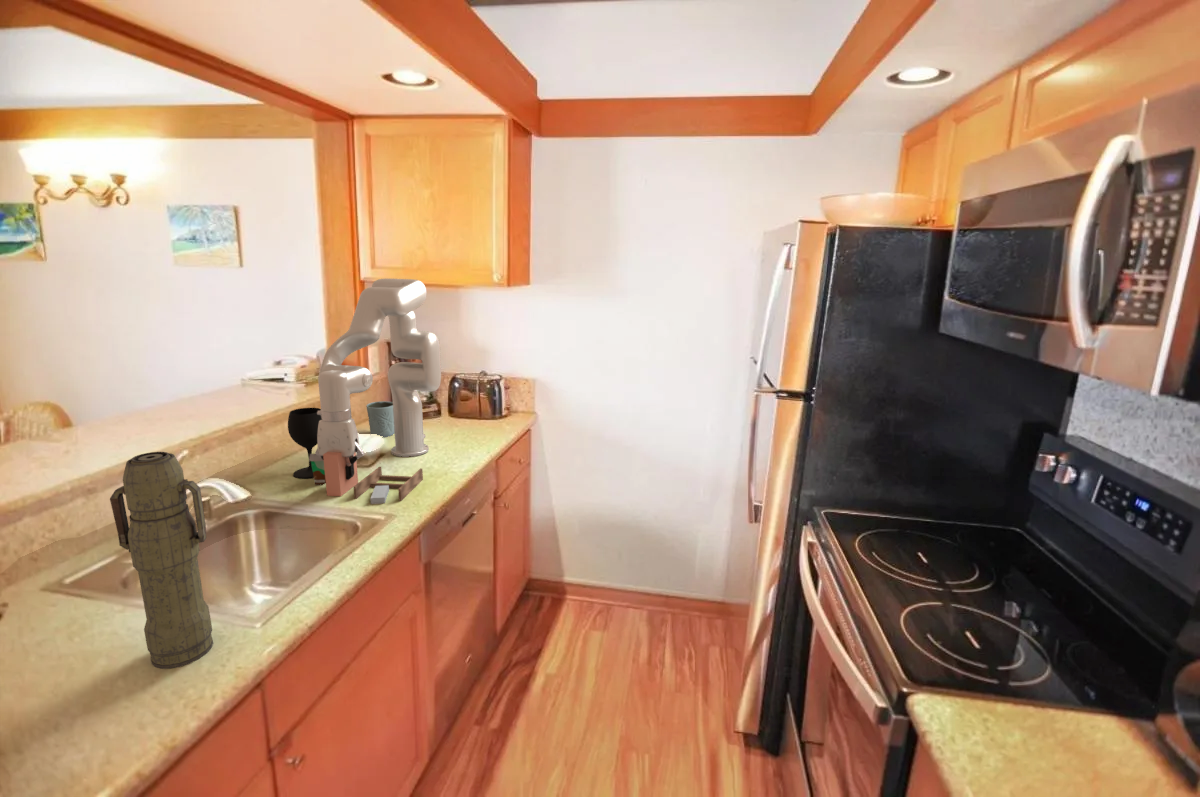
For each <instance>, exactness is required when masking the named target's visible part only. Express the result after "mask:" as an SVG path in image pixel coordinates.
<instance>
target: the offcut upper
mask: <svg viewBox="0 0 1200 797" xmlns="http://www.w3.org/2000/svg"><path fill="white" fill-rule="evenodd" d="M389 492H390V488H389V485H384V486H375V487H373V491H372V493H371V496H370V498H369V499H370V505H377V504H379V505H380V504H386V503H387V502H386V501H387V498H388V495H389Z"/></svg>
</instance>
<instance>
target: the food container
mask: <svg viewBox="0 0 1200 797" xmlns="http://www.w3.org/2000/svg"><path fill="white" fill-rule="evenodd" d="M309 461H311V465H312V470H313V476H314V478H313V481H314V486H324V485H326V480H325V469H324V460H323V459H322V458H321V457H319V456H318V455H316V454H315V453H312V454H310V456H309V458H308V462H309ZM320 484H321V485H320ZM323 484H324V485H323Z"/></svg>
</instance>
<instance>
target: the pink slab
mask: <svg viewBox="0 0 1200 797" xmlns="http://www.w3.org/2000/svg"><path fill="white" fill-rule="evenodd" d="M355 455H357V453H356V452H355V453H354V456H355ZM323 459H324V469H325V480H326V483H325V488H326V490H325V491H326V496H327V497H328V496H329V497H342V496H343V495H345V494H346V493H348V492H349V491H350V490H351V489H352V488H354V486H355V485H356V484H358V483H359V477H358V476H359V474H358V464H357V461H356V462H355V463H354V476H353V477H352V478H350V479H349V480H347V479H346V470H345V466H347V464H346V460H345V457H342V453H340V452H326V453H325V454H323Z"/></svg>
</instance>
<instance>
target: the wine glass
mask: <svg viewBox="0 0 1200 797" xmlns="http://www.w3.org/2000/svg"><path fill="white" fill-rule="evenodd" d="M320 410H321V408H318V407H302V408H301V407H300V408H296V409H293V410H292V409H291V410H290V411H289V413H288V418H287V419H288V420H287V430H288V434H289V436H290V438H291V440H293V442H294V443H295V444H296V445H298V446H300V447H302V448H304V449H306V451H307V457H308V459H309V456H310V454H313V449H314V447H315V446H318V443H317V435H318V424H319V421H320V420H322V419H321V416H320V415H317V411H320ZM292 475H293V477H294V478H296V479H301V480H306V479H314V476H313V470H312V465H311V461H309V460H308V466H305V467H302V468H299V469H296V470H295V471H294V472H293V474H292Z"/></svg>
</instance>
